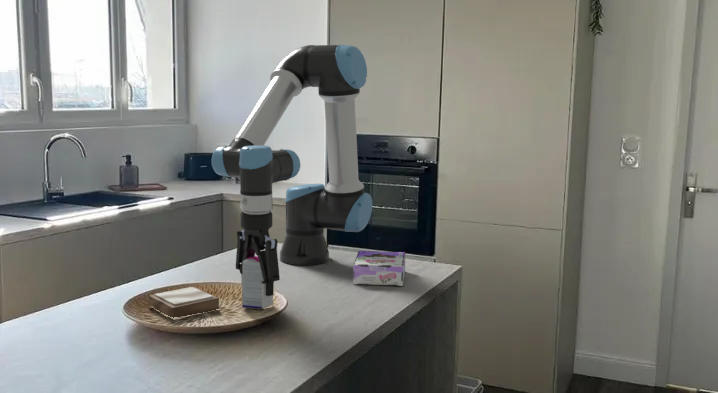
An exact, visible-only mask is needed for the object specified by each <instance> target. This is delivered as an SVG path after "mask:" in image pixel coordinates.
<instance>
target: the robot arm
mask: <svg viewBox="0 0 718 393" xmlns="http://www.w3.org/2000/svg"><path fill="white" fill-rule="evenodd" d="M269 76H270V77H269V80H270V82H269V84H268V85H267V87H266V88H265V90H264V92H263V93H262V95H261V96H260V97H259V99H258V101H257V102H256V104H255V105H254V107H253V109H252V110H251V111H250V113H249V115H248V116H247V117H246V119H245V120H244V122H243V124H242V125H241V126H240V128H239V130H238V131H237V133H236V135H235V136H234V137H233V139H232V140H231V142H230V144H229V145H228V146H226V145H224V146H220V147H217V148H215V149H214V151H213V152H212V156H211V167H212V169H213V171H214V172H215V174H217V175H219V176H222V177H228V178H239V182H240V183H239V186H240V187H239V188H240V190H239V191H240V192H239V193H240V199H239V202H240V210H241V213H240V220H239V221H240V227H241V229H243V230H237V232H236V237H237V238H236V239H237V244H236V258H235V269H236V271H237V270H239V273H240V276H241V278H240V279H241V280H240V281H241V283H242V282H243V261H244V260H246V259H247V258H249V257H253V256H255V255H256V256H258V258H259V262H260V267H261V271H262V275H263V279H264V281H262V308H263V309H264V308H266V307H269V306H271V305H273V306H274V294H275V293H274V292H275V291H274V288H275V287H274V284H275V282H277V281H280V267H279V260H280V262H283V263H285V264H289V265H297V266H314V265H321V264H324V263H327V262H329V260H330V251H329V249H328V244H327V241H326V238H325V229H327V230H334V231H341V232H346V233H348V232H349V233H350V232H352V233H353V232H354V233H359V232H362V231H363V230H364V229H365V228H366V227H367V225H368V223H369V221H370V218H371V216H372V211H373V199H372V195H371V194H369V193H368V192H365V185H364V184H363V182H361V181H360V180H359V163H358V162H359V161H358V160H359V159H358V144H357V143H358V140H357V138H358V137H357V121H356V119H357V118H356V98H357V97H358V96H359V95H360V94H361V93H360V92H361V91H360V89H361V88H364V86H365V84H366V82H367V77H368V68H367V62H366V59H365V56H364V54H363V53H362V51H361V49H360V48H358V47H357V46H354V45H347V44H325V45H324V44H322V45H321V44H319V45H317V44H316V45H315V44H308V45H303V46H301V47H299V48H296V49H295V50H293V51H291V52H290V53H289V54H288V55H286V56H285V57H284V58H283V59H282V60H281V61H279V63H278V64H277V66H276V67H275V68H274V70H273V71H272V72H271V74H270V75H269ZM311 87H312V88H317V89H318V90H317V91H318V96H319V97H320V98H321V99H322V100H323V101H324V115H325V116H324V118H325V130H326V131H325V132H326V133H325V134H326V147H327V149H326V150H327V162H328V163H327V165H328V166H327V168H328V169H327V170H328V182H327V183H326V185H325V184H324V183H308V184H307V183H306V184H301V185H293V186H290V187H288V189H286V194H285V201H284V202H285V236H284V239H283V242H282V246H281V249H280V251H279V258H278V239H277V238H273V239H272V238H271V237H270V233H269V230H270V229H271V228H272V227H273V212H272V210H273V209H274V208H273V184H274V183H278V182H279V183H280V182H283V181H289V180H290V179H292V178H294V177H296V176H297V175H298V174H299V172H300V170H301V160H300V157H299V155H298V154H297V153H296V152H295V151H293V150H291V149H284V148H283V149H282V148H280V149H278V150H277V149H276V150H274V149H273V150H272V148H271V147H270V146H268V145H265V144H266V142H267V141H268V139H269V138H270V137H271V134H272V133H273V131H274V130H275V128H276V126H277V124H278V123H279V121H280V120H281V118H282V117H283V115H284V113H285V111H286V110H287V108H288V107H289V105H290V104H291V101H292V100H293V98H294V97H297V96H299V95H300V94H301V93H302V91H303V90H304V89H307V88H311ZM263 309H262V310H263ZM264 310H265V309H264Z"/></svg>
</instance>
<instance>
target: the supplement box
mask: <svg viewBox="0 0 718 393" xmlns="http://www.w3.org/2000/svg"><path fill="white" fill-rule="evenodd" d="M262 281H264V279H263V275H262V271H261V267H260V262H259V258H258V256H257V255H256V256H253V257H249V258H247V259H246V260H244V261H243V282H242V281H241V300H242V302H241V304H242V305H241V306H242V307H241V308H245V309H256V308H262Z"/></svg>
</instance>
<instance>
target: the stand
mask: <svg viewBox="0 0 718 393" xmlns="http://www.w3.org/2000/svg"><path fill="white" fill-rule="evenodd" d="M149 304H150V305H151V306H153V307H154V308H155V309H157V310H159V311H160V312H162V313H164V314H166V315H168V316H170V317H173V318H174V317H181V316H187V315H192V314H197V313H203V312H208V311H212V310H216V309H219V310H220V297H217V296H215V295H214V294H211V293H208V292H206V291H204V290H202V289H200V288H198V287H195V286H189V287H183V288H179V289H173V290H168V291H163V292H157V293H154V294H150V295H148V305H149ZM208 313H209V312H208Z"/></svg>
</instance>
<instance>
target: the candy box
mask: <svg viewBox="0 0 718 393" xmlns="http://www.w3.org/2000/svg"><path fill="white" fill-rule="evenodd" d="M352 267H353V270H352V284H353V285H368V286H370V285H372V286H397V287H403V286H404V280H405V273H406V252H405V251H403V252H402V251H380V250H379V251H375V250H374V251H373V250H372V251H371V250H358V251H357V255H356V256H355V260H354V263H353V266H352Z"/></svg>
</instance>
